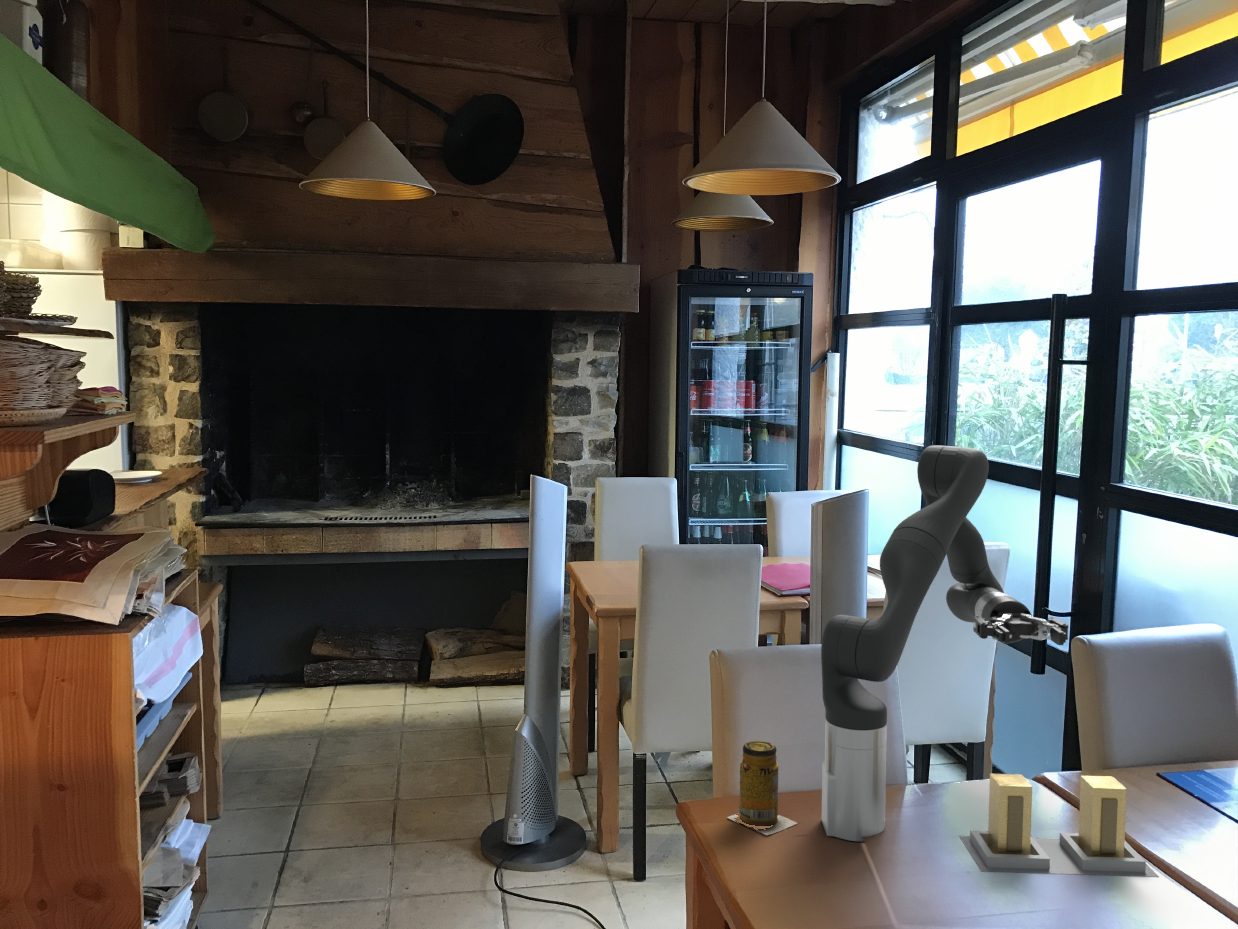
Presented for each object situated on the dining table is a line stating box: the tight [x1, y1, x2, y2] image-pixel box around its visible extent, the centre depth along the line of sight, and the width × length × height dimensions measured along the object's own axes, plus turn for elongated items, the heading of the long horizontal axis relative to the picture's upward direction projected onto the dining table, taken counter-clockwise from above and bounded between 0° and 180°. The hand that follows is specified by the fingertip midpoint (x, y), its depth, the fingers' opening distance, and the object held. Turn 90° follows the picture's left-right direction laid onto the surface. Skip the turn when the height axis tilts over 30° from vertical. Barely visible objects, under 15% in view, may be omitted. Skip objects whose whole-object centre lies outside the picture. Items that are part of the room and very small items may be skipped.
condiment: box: [726, 740, 798, 836], centre depth 155 cm, size 7×8×12 cm
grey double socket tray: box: [959, 829, 1160, 878], centre depth 142 cm, size 24×11×2 cm, turn 86°
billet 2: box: [1078, 775, 1127, 858], centre depth 141 cm, size 4×5×11 cm
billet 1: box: [987, 773, 1033, 855], centre depth 142 cm, size 4×5×11 cm
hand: (1034, 638), depth 159 cm, fingers open, 8 cm apart
